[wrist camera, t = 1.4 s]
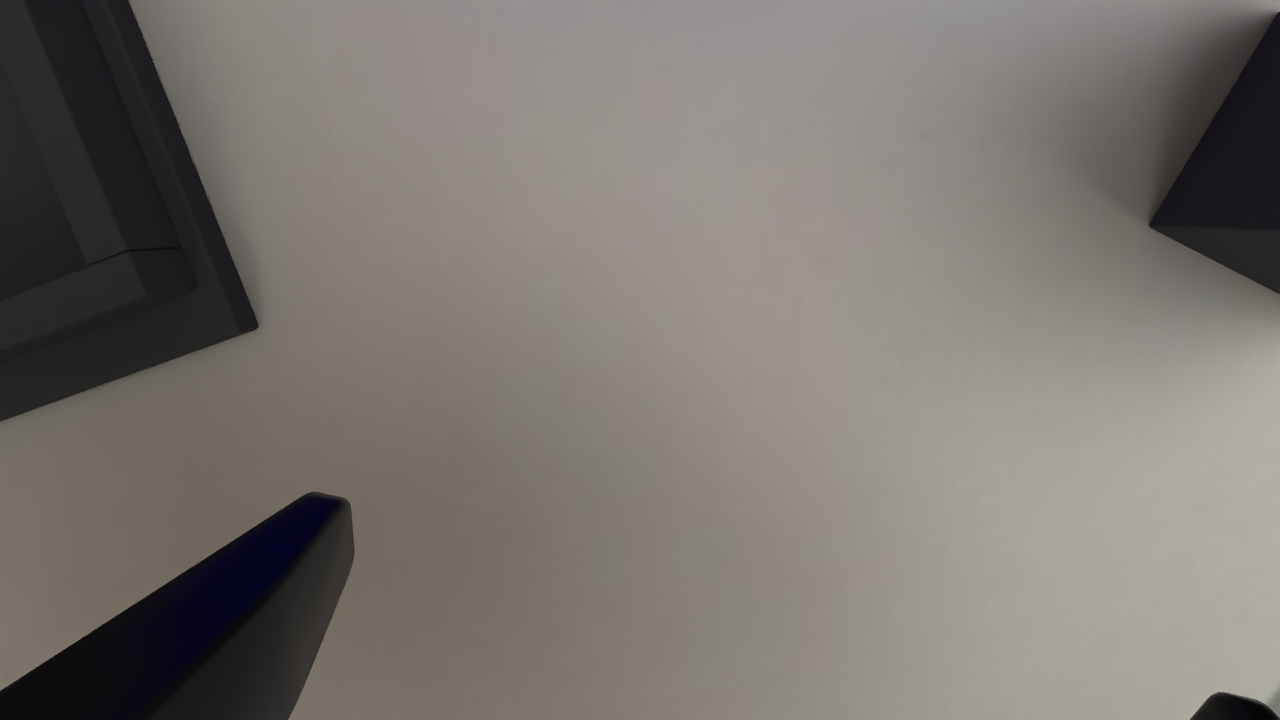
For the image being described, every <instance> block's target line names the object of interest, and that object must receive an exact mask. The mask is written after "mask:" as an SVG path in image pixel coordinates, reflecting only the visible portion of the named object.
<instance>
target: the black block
mask: <svg viewBox="0 0 1280 720" xmlns="http://www.w3.org/2000/svg"><path fill="white" fill-rule="evenodd" d="M1149 226H1150V227H1151V228H1152V229H1154V230H1156V231H1158V232H1160V233H1162V234H1164V235H1166V236H1168V237H1170V238H1172V239H1174V240H1176V241H1177V242H1179V243H1181V244H1183V245H1185V246H1187V247H1189V248H1191V249H1193V250H1195V251H1197V252H1199V253H1201V254H1203V255H1205V256H1207V257H1209V258H1211V259H1213V260H1214V261H1216V262H1218V263H1220V264H1222V265H1224V266H1226V267H1228V268H1230V269H1232V270H1234V271H1236V272H1238V273H1240V274H1242V275H1244V276H1246V277H1248V278H1250V279H1252V280H1253V281H1255V282H1257V283H1259V284H1261V285H1263V286H1265V287H1267V288H1269V289H1271V290H1273V291H1275V292H1277V293H1279V294H1280V12H1278V14H1277V16H1276V17H1275V19H1274V20H1273V22H1272V24H1271V25H1270V27H1269V29H1268V30H1267V32H1266V34H1265V35H1264V37H1263V39H1262V40H1261V42H1260V43H1259V45H1258V47H1257V48H1256V50H1255V52H1254V53H1253V55H1252V57H1251V58H1250V60H1249V61H1248V63H1247V65H1246V66H1245V68H1244V70H1243V71H1242V73H1241V75H1240V76H1239V78H1238V80H1237V81H1236V83H1235V84H1234V86H1233V88H1232V89H1231V91H1230V93H1229V94H1228V96H1227V98H1226V99H1225V101H1224V102H1223V104H1222V106H1221V107H1220V109H1219V111H1218V112H1217V114H1216V116H1215V117H1214V119H1213V121H1212V122H1211V124H1210V125H1209V127H1208V129H1207V130H1206V132H1205V134H1204V135H1203V137H1202V139H1201V140H1200V142H1199V143H1198V145H1197V147H1196V148H1195V150H1194V152H1193V153H1192V155H1191V157H1190V158H1189V160H1188V161H1187V163H1186V165H1185V166H1184V168H1183V170H1182V171H1181V173H1180V175H1179V176H1178V178H1177V180H1176V181H1175V183H1174V184H1173V186H1172V188H1171V189H1170V191H1169V193H1168V194H1167V196H1166V198H1165V199H1164V201H1163V202H1162V204H1161V206H1160V207H1159V209H1158V211H1157V212H1156V214H1155V216H1154V217H1153V219H1152V221H1151V222H1150V224H1149Z"/></svg>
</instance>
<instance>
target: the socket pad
mask: <svg viewBox="0 0 1280 720" xmlns="http://www.w3.org/2000/svg"><path fill="white" fill-rule="evenodd" d="M257 328H258V323H257V320H256V318H255V315H254V313H253V310H252V308H251V305H250V303H249V300H248V298H247V295H246V293H245V290H244V288H243V285H242V283H241V280H240V278H239V275H238V273H237V270H236V268H235V265H234V263H233V260H232V258H231V255H230V253H229V250H228V248H227V246H226V243H225V241H224V238H223V236H222V233H221V231H220V228H219V226H218V223H217V221H216V218H215V216H214V213H213V211H212V208H211V206H210V203H209V201H208V198H207V196H206V193H205V191H204V188H203V186H202V183H201V181H200V178H199V176H198V173H197V171H196V168H195V166H194V164H193V161H192V159H191V156H190V154H189V151H188V149H187V146H186V144H185V141H184V139H183V136H182V134H181V131H180V129H179V126H178V124H177V121H176V119H175V116H174V114H173V111H172V109H171V106H170V104H169V101H168V99H167V96H166V94H165V91H164V89H163V86H162V84H161V82H160V79H159V77H158V74H157V72H156V69H155V67H154V64H153V62H152V59H151V57H150V54H149V52H148V49H147V47H146V44H145V42H144V39H143V37H142V34H141V32H140V29H139V27H138V24H137V22H136V19H135V17H134V14H133V12H132V9H131V7H130V4H129V2H128V0H0V421H2V420H5V419H8V418H11V417H13V416H16V415H19V414H22V413H24V412H27V411H30V410H33V409H36V408H38V407H41V406H44V405H47V404H49V403H52V402H55V401H58V400H61V399H63V398H66V397H69V396H72V395H74V394H77V393H80V392H83V391H86V390H88V389H91V388H94V387H97V386H99V385H102V384H105V383H108V382H111V381H113V380H116V379H119V378H122V377H124V376H127V375H130V374H133V373H136V372H138V371H141V370H144V369H147V368H149V367H152V366H155V365H158V364H161V363H163V362H166V361H169V360H172V359H174V358H177V357H180V356H183V355H186V354H188V353H191V352H194V351H197V350H199V349H202V348H205V347H208V346H211V345H213V344H216V343H219V342H222V341H224V340H227V339H230V338H233V337H236V336H238V335H241V334H244V333H247V332H249V331H252V330H255V329H257Z"/></svg>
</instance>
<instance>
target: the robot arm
mask: <svg viewBox="0 0 1280 720" xmlns="http://www.w3.org/2000/svg"><path fill="white" fill-rule="evenodd" d="M353 559H354V539H353V524H352V510H351V505H350V503H349V501H348V500H347V499H345V498H343V497H339V496H334V495H330V494H325V493H321V492H310V493H307V494H305V495H303V496H302V497H300V498H298V499H297V500H295V501H294V502H292V503H291V504H289V505H288V506H286V507H284V508H283V509H281V510H280V511H278V512H277V513H275V514H274V515H272V516H271V517H269V518H267V519H266V520H264V521H263V522H261V523H260V524H258V525H257V526H255V527H253V528H252V529H250V530H249V531H247V532H246V533H244V534H243V535H241V536H240V537H238V538H236V539H235V540H233V541H232V542H230V543H229V544H227V545H226V546H224V547H222V548H221V549H219V550H218V551H216V552H215V553H213V554H212V555H210V556H209V557H207V558H205V559H204V560H202V561H201V562H199V563H198V564H196V565H195V566H193V567H191V568H190V569H188V570H187V571H185V572H184V573H182V574H181V575H179V576H178V577H176V578H174V579H173V580H171V581H170V582H168V583H167V584H165V585H164V586H162V587H160V588H159V589H157V590H156V591H154V592H153V593H151V594H150V595H148V596H147V597H145V598H143V599H142V600H140V601H139V602H137V603H136V604H134V605H133V606H131V607H129V608H128V609H126V610H125V611H123V612H122V613H120V614H119V615H117V616H116V617H114V618H112V619H111V620H109V621H108V622H106V623H105V624H103V625H102V626H100V627H98V628H97V629H95V630H94V631H92V632H91V633H89V634H88V635H86V636H85V637H83V638H81V639H80V640H78V641H77V642H75V643H74V644H72V645H71V646H69V647H67V648H66V649H64V650H63V651H61V652H60V653H58V654H57V655H55V656H54V657H52V658H50V659H49V660H47V661H46V662H44V663H43V664H41V665H40V666H38V667H36V668H35V669H33V670H32V671H30V672H29V673H27V674H26V675H24V676H23V677H21V678H19V679H18V680H16V681H15V682H13V683H12V684H10V685H9V686H7V687H5V688H4V689H2V690H1V691H0V720H288V719H289V717H290V715H291V713H292V711H293V709H294V707H295V705H296V703H297V701H298V699H299V696H300V694H301V692H302V689H303V687H304V685H305V682H306V680H307V677H308V675H309V672H310V670H311V668H312V665H313V663H314V660H315V658H316V655H317V653H318V650H319V648H320V645H321V643H322V640H323V638H324V635H325V633H326V631H327V628H328V626H329V623H330V621H331V618H332V616H333V613H334V611H335V608H336V606H337V603H338V601H339V598H340V596H341V593H342V591H343V589H344V586H345V584H346V581H347V579H348V576H349V574H350V571H351V567H352V564H353ZM1190 720H1280V718H1279V717H1278V716H1277V715H1276V714H1275V713H1274V712H1273V711H1272V710H1271V709H1270V708H1269V707H1268V706H1267V705H1265V704H1264V703H1262V702H1260V701H1258V700H1255V699H1252V698H1248V697H1243V696H1238V695H1234V694H1229V693H1225V692H1219V693H1216V694H1213V695H1211V696H1210V697H1209V698H1208V699H1207V700H1206V701H1205V702H1204V704H1203V705H1202V706H1201V707H1200V708H1199V709H1198V711H1197V712H1196V713H1195V714H1194V715H1193V717H1192V718H1191V719H1190Z"/></svg>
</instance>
